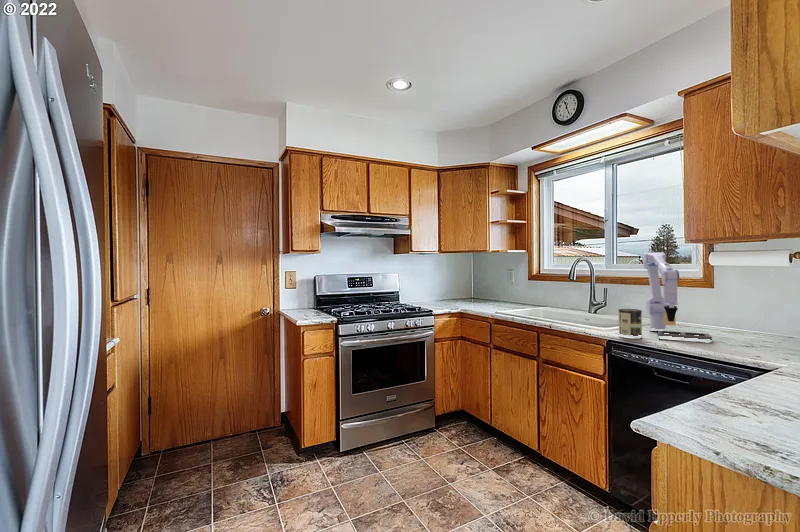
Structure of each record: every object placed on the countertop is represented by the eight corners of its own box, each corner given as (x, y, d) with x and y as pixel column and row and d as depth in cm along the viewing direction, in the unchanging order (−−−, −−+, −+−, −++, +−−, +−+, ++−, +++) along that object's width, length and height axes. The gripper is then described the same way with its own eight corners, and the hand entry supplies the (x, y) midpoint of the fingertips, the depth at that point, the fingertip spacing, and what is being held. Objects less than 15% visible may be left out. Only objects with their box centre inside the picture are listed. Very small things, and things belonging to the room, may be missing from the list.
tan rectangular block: (664, 323, 198) (663, 312, 198) (675, 324, 195) (674, 312, 195) (664, 325, 194) (664, 313, 194) (675, 325, 191) (675, 313, 191)
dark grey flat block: (658, 336, 198) (658, 330, 198) (708, 339, 187) (708, 333, 187) (659, 339, 190) (659, 333, 190) (712, 343, 179) (711, 337, 179)
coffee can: (641, 336, 198) (641, 309, 198) (642, 340, 189) (641, 311, 189) (618, 334, 204) (618, 308, 204) (618, 338, 195) (617, 310, 195)
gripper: (660, 292, 203) (660, 318, 203) (661, 294, 190) (661, 322, 190) (676, 293, 199) (676, 319, 199) (679, 295, 187) (679, 323, 187)
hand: (670, 320), depth 194 cm, fingers closed on tan rectangular block, 4 cm apart
